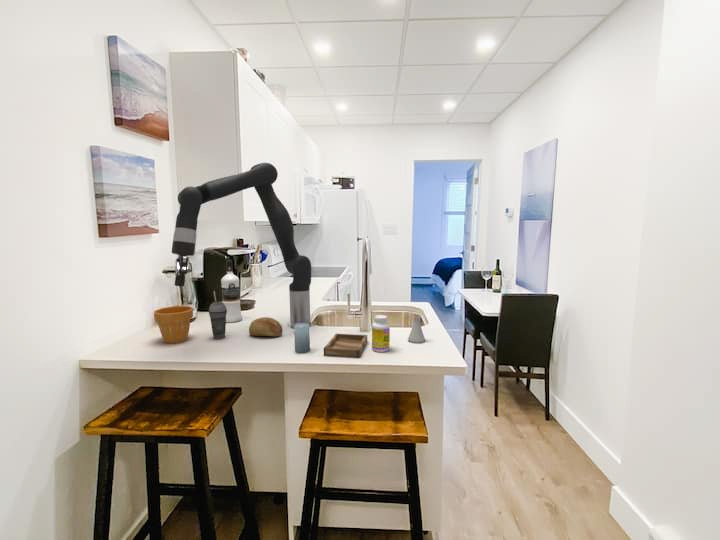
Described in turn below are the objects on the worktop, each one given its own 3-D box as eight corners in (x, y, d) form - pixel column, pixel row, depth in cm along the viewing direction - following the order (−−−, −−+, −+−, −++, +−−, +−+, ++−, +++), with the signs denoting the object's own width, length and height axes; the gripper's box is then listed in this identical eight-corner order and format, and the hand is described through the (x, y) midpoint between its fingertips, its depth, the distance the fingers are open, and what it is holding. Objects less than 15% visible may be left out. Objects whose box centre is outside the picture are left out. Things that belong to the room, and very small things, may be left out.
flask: (427, 339, 150) (428, 315, 148) (422, 344, 143) (423, 319, 142) (410, 337, 153) (410, 313, 151) (405, 342, 146) (405, 318, 145)
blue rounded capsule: (298, 347, 140) (297, 322, 139) (311, 348, 139) (311, 323, 138) (292, 352, 135) (291, 326, 134) (307, 353, 134) (306, 327, 133)
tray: (336, 340, 149) (336, 333, 149) (367, 341, 147) (367, 335, 146) (323, 355, 131) (323, 348, 131) (358, 358, 129) (358, 350, 129)
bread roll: (277, 340, 150) (276, 321, 149) (243, 338, 153) (242, 319, 152) (286, 333, 159) (285, 315, 158) (254, 331, 162) (254, 314, 161)
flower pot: (200, 339, 151) (198, 309, 149) (163, 348, 140) (161, 315, 139) (186, 332, 160) (184, 304, 159) (151, 340, 150) (148, 309, 148)
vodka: (241, 317, 186) (238, 259, 182) (242, 322, 177) (239, 261, 174) (222, 319, 183) (219, 259, 179) (222, 323, 174) (218, 261, 171)
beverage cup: (222, 340, 149) (219, 293, 146) (206, 339, 150) (203, 292, 148) (231, 335, 156) (229, 289, 154) (216, 334, 158) (213, 289, 155)
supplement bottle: (384, 353, 133) (384, 319, 131) (368, 350, 137) (368, 317, 135) (392, 348, 139) (392, 315, 137) (377, 345, 142) (377, 313, 141)
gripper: (198, 241, 128) (193, 287, 127) (192, 244, 140) (187, 286, 139) (175, 238, 124) (169, 285, 123) (171, 242, 136) (165, 285, 135)
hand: (179, 286), depth 131 cm, fingers open, 8 cm apart
